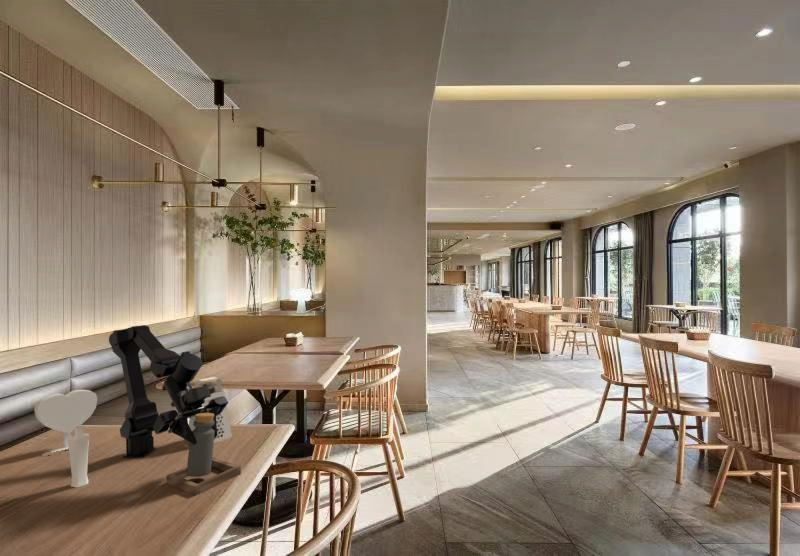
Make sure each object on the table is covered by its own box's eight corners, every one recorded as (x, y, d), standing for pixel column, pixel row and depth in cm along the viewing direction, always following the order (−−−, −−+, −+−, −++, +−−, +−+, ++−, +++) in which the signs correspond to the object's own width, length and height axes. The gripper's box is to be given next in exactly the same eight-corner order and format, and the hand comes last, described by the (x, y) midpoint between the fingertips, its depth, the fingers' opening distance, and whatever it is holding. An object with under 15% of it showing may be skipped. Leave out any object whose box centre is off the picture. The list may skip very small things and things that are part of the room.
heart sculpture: (93, 439, 142) (92, 386, 142) (99, 442, 138) (97, 388, 139) (34, 455, 129) (33, 397, 129) (38, 458, 126) (37, 399, 126)
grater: (231, 437, 140) (230, 378, 140) (200, 447, 132) (198, 384, 132) (217, 430, 147) (216, 374, 147) (186, 439, 139) (185, 379, 139)
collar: (166, 483, 108) (166, 475, 108) (211, 464, 119) (211, 457, 119) (195, 495, 101) (195, 487, 101) (240, 473, 112) (240, 466, 112)
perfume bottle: (95, 480, 110) (94, 424, 111) (78, 488, 106) (77, 430, 106) (83, 478, 112) (82, 423, 112) (66, 486, 108) (65, 428, 108)
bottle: (208, 476, 107) (214, 416, 109) (183, 477, 105) (190, 416, 108) (212, 469, 113) (218, 412, 115) (188, 470, 111) (195, 412, 113)
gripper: (158, 382, 105) (184, 433, 99) (223, 368, 121) (249, 411, 115) (142, 408, 109) (166, 459, 103) (207, 391, 125) (231, 435, 119)
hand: (206, 439), depth 110 cm, fingers closed on bottle, 6 cm apart
